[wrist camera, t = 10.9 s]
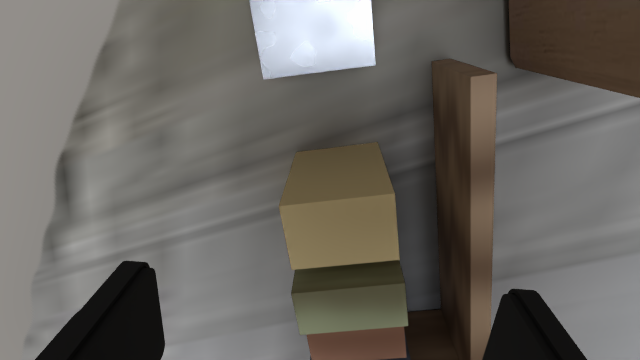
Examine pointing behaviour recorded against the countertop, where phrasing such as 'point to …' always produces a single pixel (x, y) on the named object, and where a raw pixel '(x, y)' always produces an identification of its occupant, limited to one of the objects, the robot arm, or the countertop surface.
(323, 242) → the tan rectangular block
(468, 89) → the rack
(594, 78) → the wooden block
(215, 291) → the countertop surface
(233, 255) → the countertop surface
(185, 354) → the countertop surface
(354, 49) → the grey stone cube
